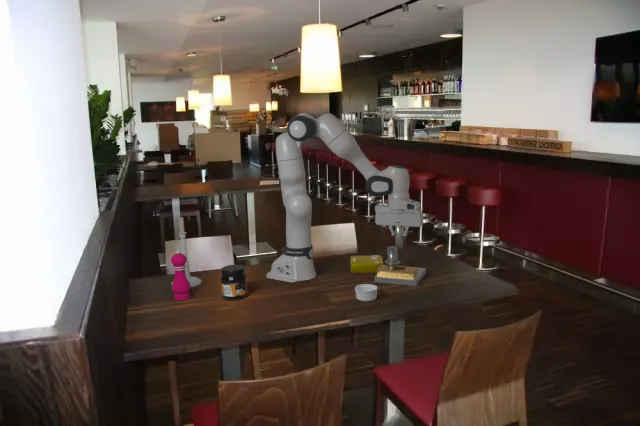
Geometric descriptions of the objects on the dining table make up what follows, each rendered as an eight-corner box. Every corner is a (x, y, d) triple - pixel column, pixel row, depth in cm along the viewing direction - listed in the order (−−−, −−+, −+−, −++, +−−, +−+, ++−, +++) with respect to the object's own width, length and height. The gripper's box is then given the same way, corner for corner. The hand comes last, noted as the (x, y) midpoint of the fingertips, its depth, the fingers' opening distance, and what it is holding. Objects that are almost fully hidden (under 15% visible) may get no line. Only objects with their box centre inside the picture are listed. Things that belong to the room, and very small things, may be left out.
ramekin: (351, 296, 207) (351, 285, 206) (371, 292, 210) (371, 282, 209) (360, 303, 199) (360, 292, 198) (381, 299, 202) (381, 289, 201)
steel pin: (393, 248, 222) (393, 220, 220) (395, 246, 226) (395, 219, 224) (402, 249, 221) (402, 221, 218) (405, 246, 224) (404, 219, 222)
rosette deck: (374, 282, 223) (374, 254, 221) (386, 270, 239) (386, 244, 237) (416, 286, 216) (416, 257, 214) (425, 273, 232) (425, 247, 230)
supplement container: (224, 302, 205) (222, 273, 203) (219, 294, 214) (217, 266, 212) (251, 298, 209) (249, 269, 206) (244, 290, 218) (242, 262, 216)
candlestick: (178, 290, 222) (171, 220, 216) (167, 283, 232) (161, 216, 227) (206, 283, 229) (201, 216, 224) (194, 277, 239) (189, 212, 234)
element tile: (350, 264, 252) (350, 254, 251) (381, 263, 251) (381, 254, 250) (350, 273, 238) (350, 263, 237) (383, 273, 237) (383, 262, 236)
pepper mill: (172, 301, 208) (168, 253, 204) (172, 296, 215) (168, 248, 211) (191, 299, 210) (187, 251, 206) (191, 293, 217) (187, 246, 213)
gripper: (372, 204, 221) (373, 236, 223) (420, 205, 213) (421, 239, 215) (377, 201, 227) (377, 233, 229) (424, 203, 218) (424, 235, 221)
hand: (399, 236), depth 222 cm, fingers closed on steel pin, 3 cm apart
